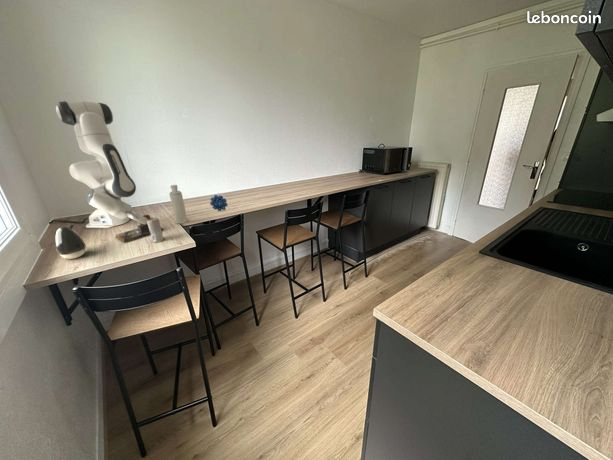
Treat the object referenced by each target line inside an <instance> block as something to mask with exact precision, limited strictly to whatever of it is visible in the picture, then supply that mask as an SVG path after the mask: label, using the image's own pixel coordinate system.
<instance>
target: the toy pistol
mask: <svg viewBox="0 0 613 460" xmlns="http://www.w3.org/2000/svg"><path fill="white" fill-rule="evenodd" d="M161 230H162V232H163V231H164V229H163V227H161ZM148 236H151V234H150V230H147V231H143V232H141V231H139V230H138V227H137V228H135V229H131V230H127V231H124V232H120V233H118V234H115V237H116V238H117V239H118V240H119V241H121V242H122V243H128V242H131V241H134V240H138V239H140V238H144V237H148Z"/></svg>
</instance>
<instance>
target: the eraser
mask: <svg viewBox="0 0 613 460" xmlns="http://www.w3.org/2000/svg"><path fill="white" fill-rule="evenodd" d="M142 216H143V217H145V218H147V219H150V218H151V216H150V215H149V214H144V215H142ZM136 227H137V228H138V230H139V231H141V232H143V231H147V230H149V227H148V224H142V223H140V222H139V224H138V225H137V226H136Z"/></svg>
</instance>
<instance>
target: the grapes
mask: <svg viewBox="0 0 613 460" xmlns="http://www.w3.org/2000/svg"><path fill="white" fill-rule="evenodd" d="M227 201H228V200H227V198H224V196H223V195H218V194H215V195H214V196H213V197H210V202H209V205H210V206H211V207H212V209H213V210H217V211H218V212H222V211H225V210H226V208H227V207H228V202H227Z"/></svg>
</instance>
